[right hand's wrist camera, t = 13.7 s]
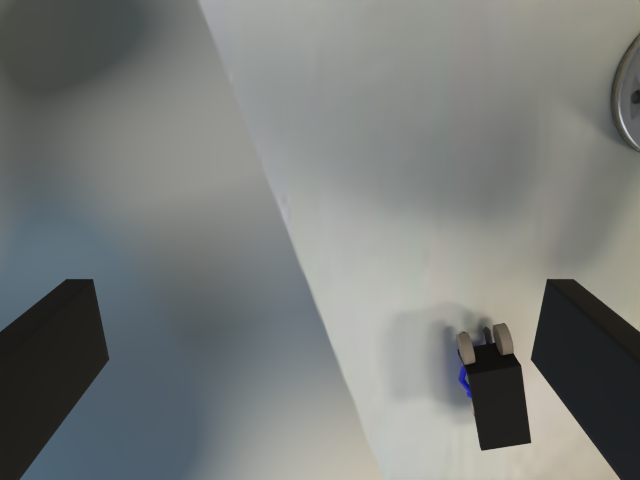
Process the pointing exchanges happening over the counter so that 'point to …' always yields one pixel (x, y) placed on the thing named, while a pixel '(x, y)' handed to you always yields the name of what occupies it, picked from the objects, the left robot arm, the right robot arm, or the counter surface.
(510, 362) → the figurine character
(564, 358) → the right robot arm
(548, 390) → the counter surface
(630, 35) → the counter surface
